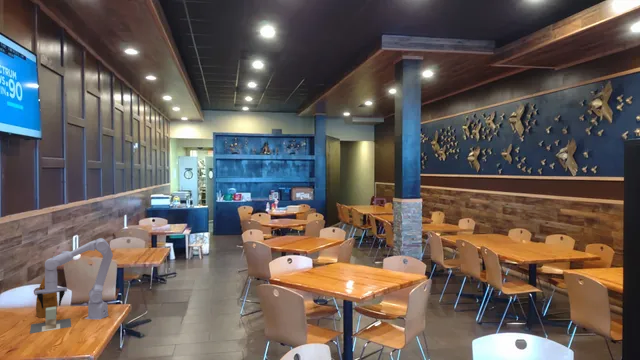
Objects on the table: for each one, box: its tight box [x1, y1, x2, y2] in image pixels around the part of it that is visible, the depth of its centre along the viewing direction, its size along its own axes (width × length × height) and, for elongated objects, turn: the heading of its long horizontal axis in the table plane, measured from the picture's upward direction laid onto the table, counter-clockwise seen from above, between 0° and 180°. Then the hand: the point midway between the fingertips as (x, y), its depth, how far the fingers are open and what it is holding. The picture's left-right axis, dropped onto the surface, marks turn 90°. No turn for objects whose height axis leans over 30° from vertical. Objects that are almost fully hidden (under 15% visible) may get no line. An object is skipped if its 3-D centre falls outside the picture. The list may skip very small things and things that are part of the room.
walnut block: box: [45, 318, 57, 330], centre depth 217 cm, size 5×5×5 cm
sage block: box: [45, 307, 57, 321], centre depth 217 cm, size 5×5×5 cm
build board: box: [29, 318, 72, 335], centre depth 220 cm, size 18×15×1 cm
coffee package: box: [35, 275, 59, 319], centre depth 238 cm, size 10×12×22 cm
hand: (51, 306), depth 223 cm, fingers open, 7 cm apart
